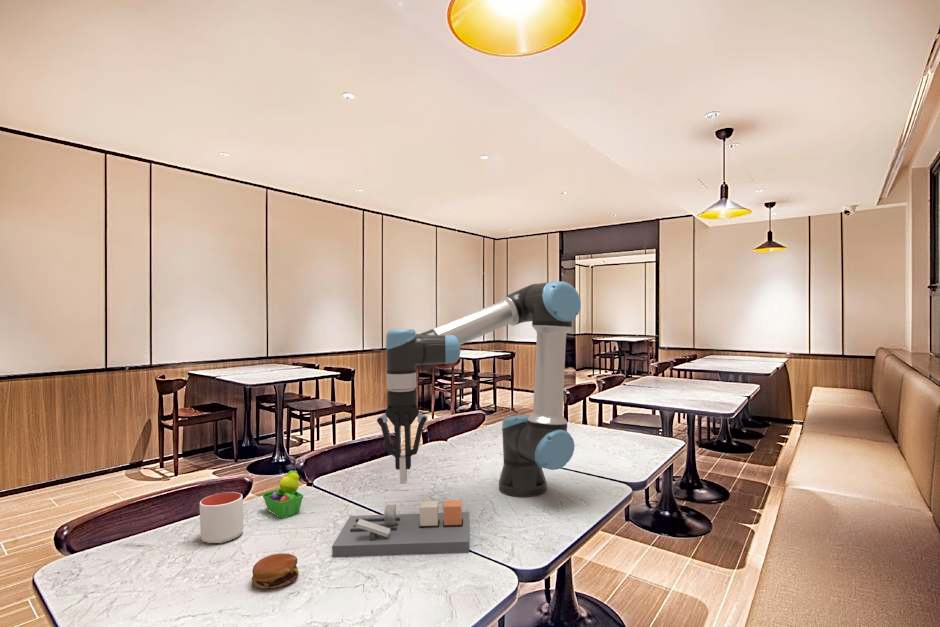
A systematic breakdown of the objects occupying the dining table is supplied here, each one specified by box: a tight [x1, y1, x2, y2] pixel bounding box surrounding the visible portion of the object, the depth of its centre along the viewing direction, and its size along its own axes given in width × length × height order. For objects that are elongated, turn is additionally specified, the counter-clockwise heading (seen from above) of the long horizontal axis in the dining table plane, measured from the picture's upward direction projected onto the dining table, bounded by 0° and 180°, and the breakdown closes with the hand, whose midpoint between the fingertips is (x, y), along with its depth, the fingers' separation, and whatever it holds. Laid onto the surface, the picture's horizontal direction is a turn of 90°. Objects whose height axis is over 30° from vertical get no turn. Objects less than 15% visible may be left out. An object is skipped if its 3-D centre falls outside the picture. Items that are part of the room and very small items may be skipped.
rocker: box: [356, 519, 390, 537], centre depth 123 cm, size 8×3×1 cm, turn 90°
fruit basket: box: [262, 469, 304, 519], centre depth 148 cm, size 11×9×11 cm
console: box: [331, 511, 470, 558], centre depth 128 cm, size 32×18×4 cm, turn 90°
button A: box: [443, 499, 463, 525], centre depth 130 cm, size 4×4×5 cm
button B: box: [419, 500, 440, 526], centre depth 130 cm, size 4×4×5 cm
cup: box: [199, 491, 244, 544], centre depth 132 cm, size 10×10×10 cm
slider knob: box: [383, 504, 397, 526], centre depth 130 cm, size 2×4×4 cm, turn 0°
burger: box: [251, 553, 300, 589], centre depth 109 cm, size 10×9×5 cm
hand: (403, 481), depth 130 cm, fingers closed
